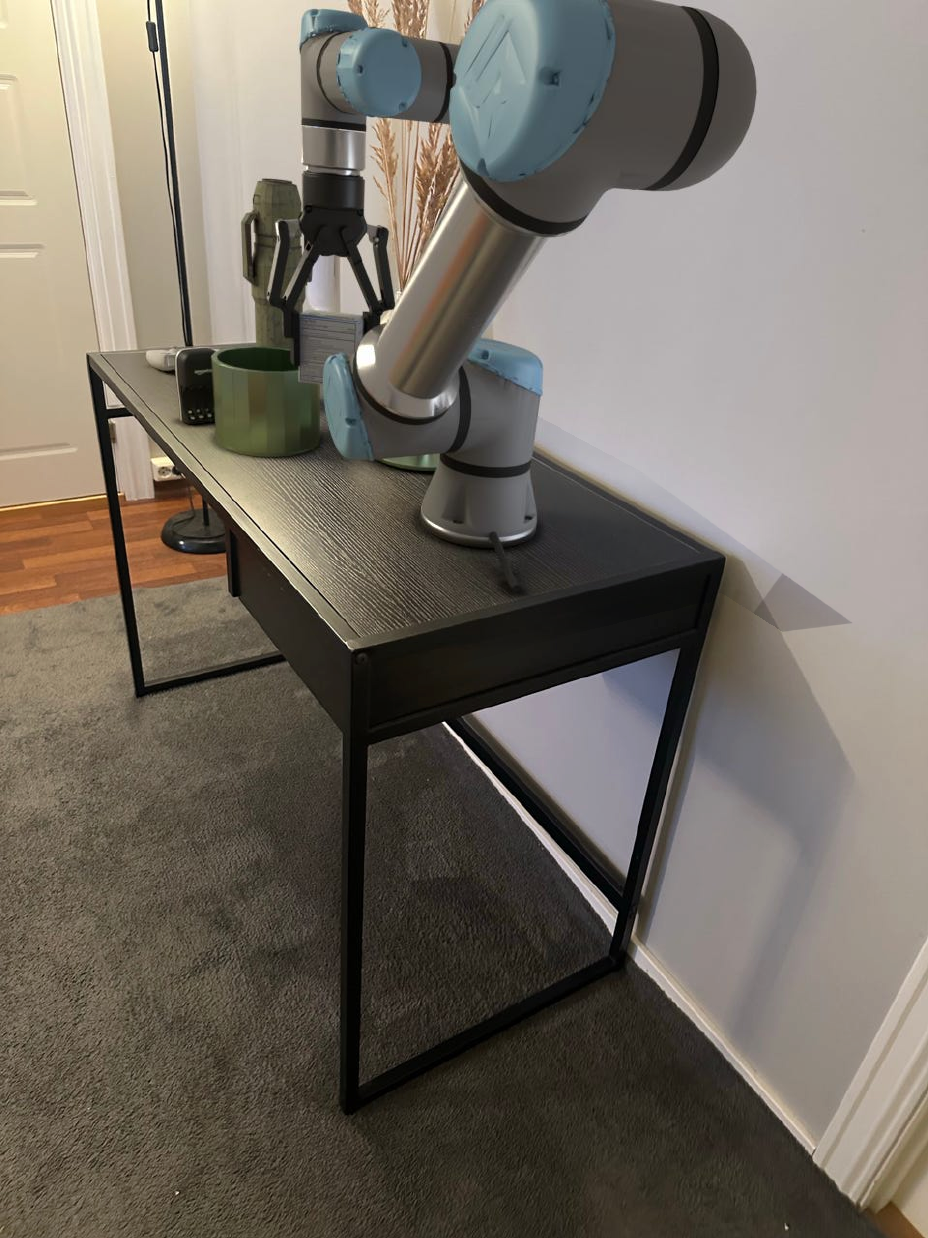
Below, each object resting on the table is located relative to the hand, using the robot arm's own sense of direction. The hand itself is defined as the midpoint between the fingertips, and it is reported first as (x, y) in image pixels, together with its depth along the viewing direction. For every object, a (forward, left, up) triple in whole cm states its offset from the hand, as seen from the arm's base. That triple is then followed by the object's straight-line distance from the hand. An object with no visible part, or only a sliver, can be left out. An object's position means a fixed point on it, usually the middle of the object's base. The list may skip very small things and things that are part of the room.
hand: (331, 363), depth 110 cm
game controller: (+59, +15, -16) cm, 63 cm away
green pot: (+17, +6, -16) cm, 24 cm away
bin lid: (+8, -16, -16) cm, 24 cm away
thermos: (+37, +1, -16) cm, 41 cm away
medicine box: (0, 0, -3) cm, 3 cm away
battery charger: (+27, +15, -16) cm, 35 cm away
